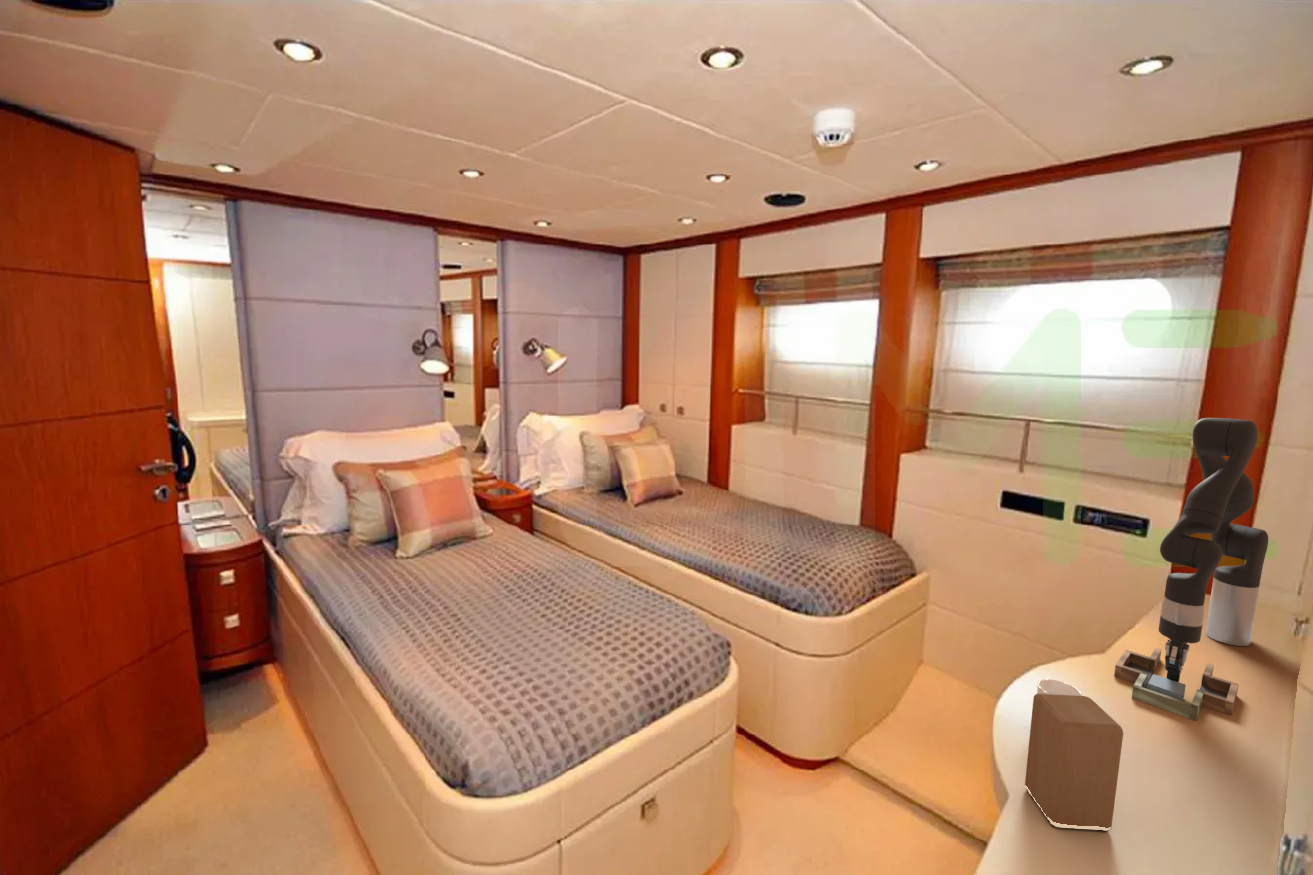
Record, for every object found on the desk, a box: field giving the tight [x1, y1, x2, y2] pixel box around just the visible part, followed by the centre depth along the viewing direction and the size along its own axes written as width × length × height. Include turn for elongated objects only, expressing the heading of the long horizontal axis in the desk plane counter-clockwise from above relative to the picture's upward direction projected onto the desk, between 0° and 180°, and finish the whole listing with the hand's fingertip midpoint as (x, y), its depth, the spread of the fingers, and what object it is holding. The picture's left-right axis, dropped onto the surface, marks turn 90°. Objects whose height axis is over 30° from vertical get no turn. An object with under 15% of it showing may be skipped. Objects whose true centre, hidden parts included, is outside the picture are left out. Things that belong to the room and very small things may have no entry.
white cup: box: [1036, 678, 1083, 696], centre depth 126 cm, size 8×8×10 cm
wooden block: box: [1024, 693, 1124, 828], centre depth 104 cm, size 10×10×20 cm
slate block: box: [1146, 673, 1186, 701], centre depth 139 cm, size 6×6×4 cm
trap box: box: [1113, 647, 1239, 721], centre depth 143 cm, size 27×21×3 cm
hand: (1172, 684), depth 141 cm, fingers closed
